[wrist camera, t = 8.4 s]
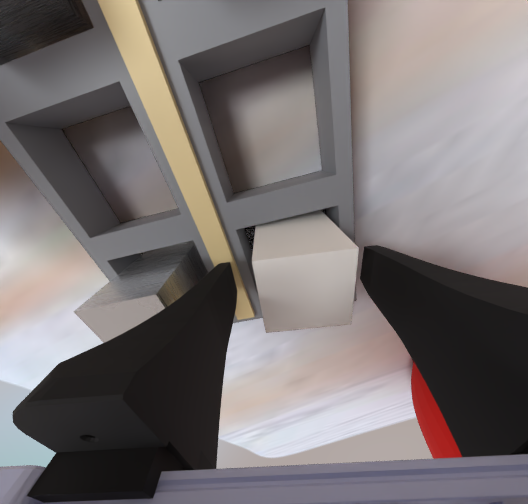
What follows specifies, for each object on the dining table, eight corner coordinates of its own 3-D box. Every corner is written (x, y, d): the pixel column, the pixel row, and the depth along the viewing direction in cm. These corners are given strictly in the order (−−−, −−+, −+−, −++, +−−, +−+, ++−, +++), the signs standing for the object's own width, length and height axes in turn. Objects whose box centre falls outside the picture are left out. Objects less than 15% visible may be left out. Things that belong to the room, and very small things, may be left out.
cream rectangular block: (265, 266, 14) (266, 332, 9) (256, 215, 12) (251, 261, 7) (318, 259, 14) (351, 324, 9) (317, 207, 12) (359, 247, 7)
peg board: (168, 312, 16) (151, 341, 14) (-130, -138, 7) (-370, -316, 4) (342, 278, 15) (358, 303, 12) (295, -398, 5) (329, -973, 2)
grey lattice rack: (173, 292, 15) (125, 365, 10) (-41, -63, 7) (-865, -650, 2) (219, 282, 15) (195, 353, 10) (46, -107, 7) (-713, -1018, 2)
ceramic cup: (505, 242, 13) (982, 415, 4) (530, 358, 20) (751, 528, 11) (341, 322, 17) (424, 504, 8) (405, 398, 23) (492, 550, 14)
